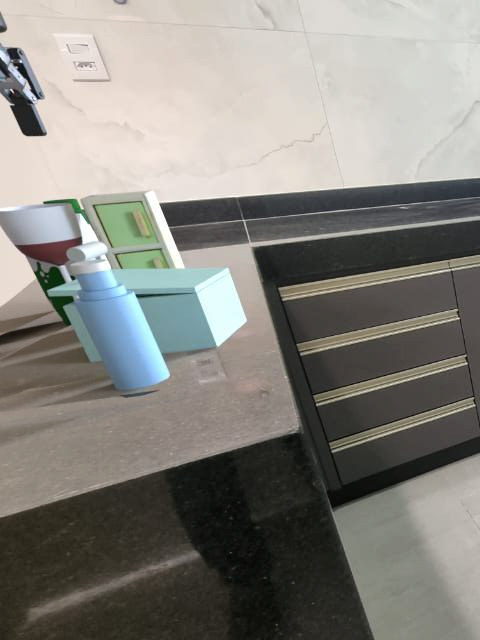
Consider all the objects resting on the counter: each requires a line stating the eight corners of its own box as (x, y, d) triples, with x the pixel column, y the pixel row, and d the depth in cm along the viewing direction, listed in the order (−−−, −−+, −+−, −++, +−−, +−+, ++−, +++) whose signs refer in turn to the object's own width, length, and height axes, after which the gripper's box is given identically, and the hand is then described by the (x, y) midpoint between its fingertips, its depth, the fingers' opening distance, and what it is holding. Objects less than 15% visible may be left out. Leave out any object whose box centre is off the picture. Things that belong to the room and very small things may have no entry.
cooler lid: (48, 296, 68) (31, 253, 66) (103, 274, 79) (90, 236, 76) (196, 292, 73) (185, 252, 71) (229, 272, 83) (220, 236, 81)
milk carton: (131, 317, 93) (78, 200, 85) (59, 330, 88) (-5, 207, 80) (130, 307, 99) (80, 196, 91) (62, 319, 94) (3, 203, 86)
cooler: (93, 368, 73) (62, 306, 69) (139, 338, 83) (115, 283, 79) (219, 352, 76) (196, 293, 73) (249, 326, 87) (230, 272, 83)
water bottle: (109, 400, 64) (44, 270, 57) (133, 382, 68) (75, 259, 62) (160, 393, 65) (102, 265, 58) (180, 375, 69) (128, 255, 63)
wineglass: (43, 344, 82) (-27, 212, 74) (84, 325, 90) (25, 204, 82) (102, 338, 84) (40, 209, 75) (138, 321, 91) (85, 201, 83)
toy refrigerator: (136, 331, 86) (77, 198, 78) (145, 319, 92) (91, 194, 84) (197, 321, 90) (146, 193, 82) (202, 310, 96) (155, 190, 87)
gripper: (-74, -36, 54) (8, 136, 61) (26, -5, 66) (84, 135, 73) (-174, -40, 52) (-78, 138, 59) (-52, -7, 64) (16, 136, 71)
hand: (12, 136), depth 66 cm, fingers open, 8 cm apart
